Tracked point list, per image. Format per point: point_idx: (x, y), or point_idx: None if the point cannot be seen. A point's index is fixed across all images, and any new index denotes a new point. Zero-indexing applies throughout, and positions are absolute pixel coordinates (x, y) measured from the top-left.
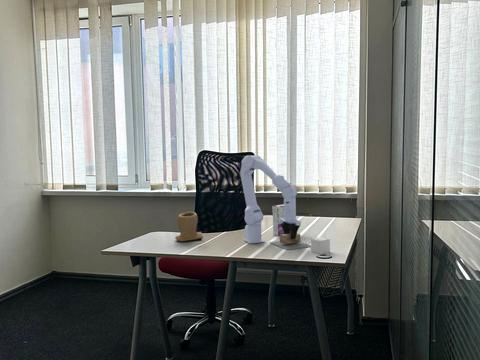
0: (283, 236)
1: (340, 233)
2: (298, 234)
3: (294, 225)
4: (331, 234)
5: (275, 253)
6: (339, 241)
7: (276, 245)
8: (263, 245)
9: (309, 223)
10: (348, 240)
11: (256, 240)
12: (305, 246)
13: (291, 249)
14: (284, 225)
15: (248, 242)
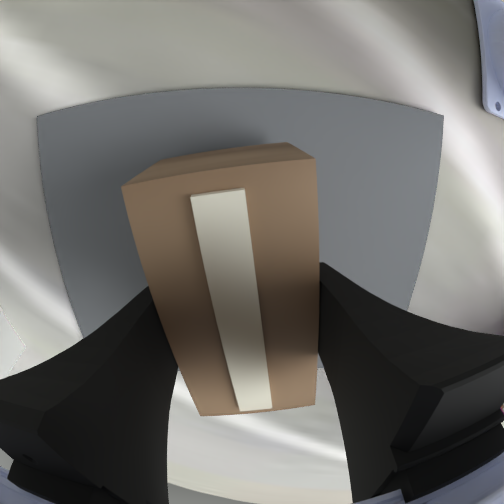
0: (179, 171)
1: (336, 495)
2: (194, 402)
3: (11, 454)
4: (347, 483)
5: (9, 3)
6: (202, 477)
7: (275, 89)
8: (374, 3)
9: None
10: (206, 490)
11: (496, 34)
12: (84, 318)
13: (46, 168)
14: (388, 405)
15: (498, 2)
